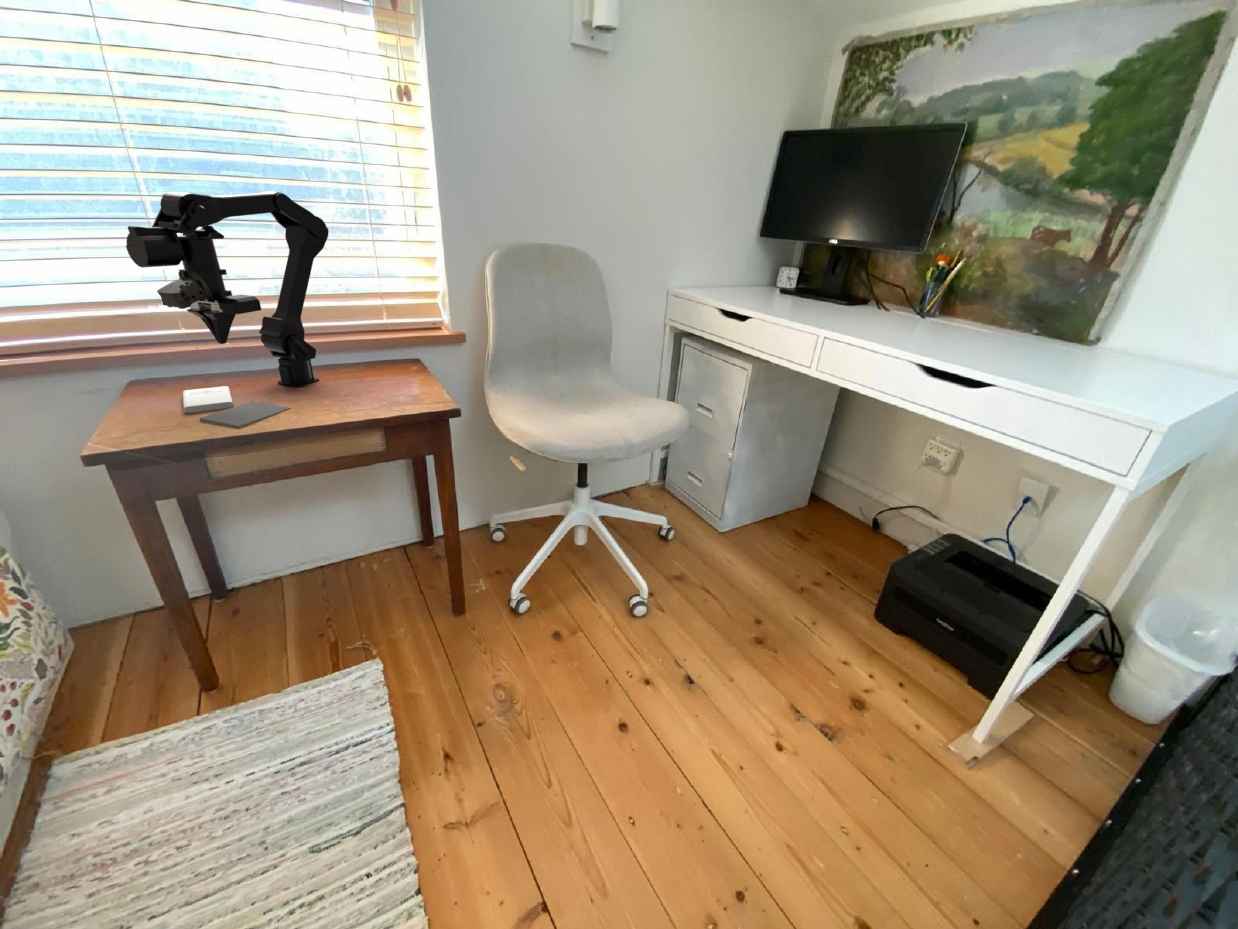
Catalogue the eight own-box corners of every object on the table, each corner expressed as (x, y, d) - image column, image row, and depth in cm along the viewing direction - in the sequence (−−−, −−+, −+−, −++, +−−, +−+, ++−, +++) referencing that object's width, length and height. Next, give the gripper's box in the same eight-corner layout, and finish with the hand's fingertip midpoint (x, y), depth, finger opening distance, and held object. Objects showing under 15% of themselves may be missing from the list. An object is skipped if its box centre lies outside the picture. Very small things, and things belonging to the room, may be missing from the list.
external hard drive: (185, 414, 108) (184, 396, 116) (234, 408, 112) (229, 392, 121) (183, 406, 107) (182, 389, 116) (232, 401, 112) (228, 385, 120)
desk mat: (253, 403, 116) (252, 400, 115) (290, 410, 113) (290, 407, 113) (200, 420, 105) (199, 418, 105) (240, 428, 103) (239, 426, 102)
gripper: (120, 263, 98) (147, 346, 105) (200, 271, 95) (223, 357, 101) (178, 258, 108) (200, 335, 115) (253, 266, 104) (271, 345, 111)
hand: (222, 343), depth 110 cm, fingers closed
